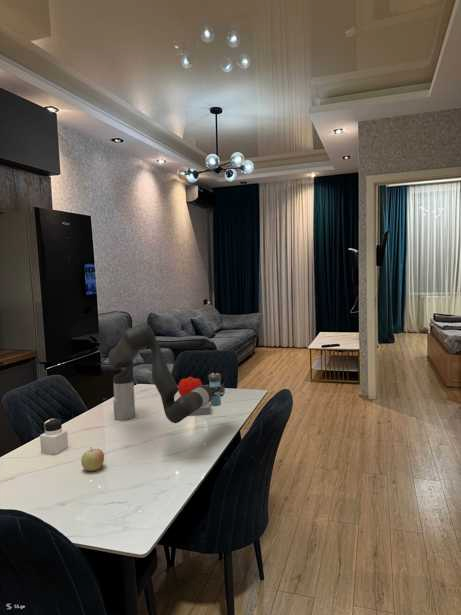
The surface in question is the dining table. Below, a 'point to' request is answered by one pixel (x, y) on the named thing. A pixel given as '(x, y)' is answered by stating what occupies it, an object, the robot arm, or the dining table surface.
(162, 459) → the dining table surface
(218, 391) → the robot arm
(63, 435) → the medicine bottle
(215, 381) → the plug
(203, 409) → the socket block
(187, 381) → the tomato
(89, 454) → the fruit
